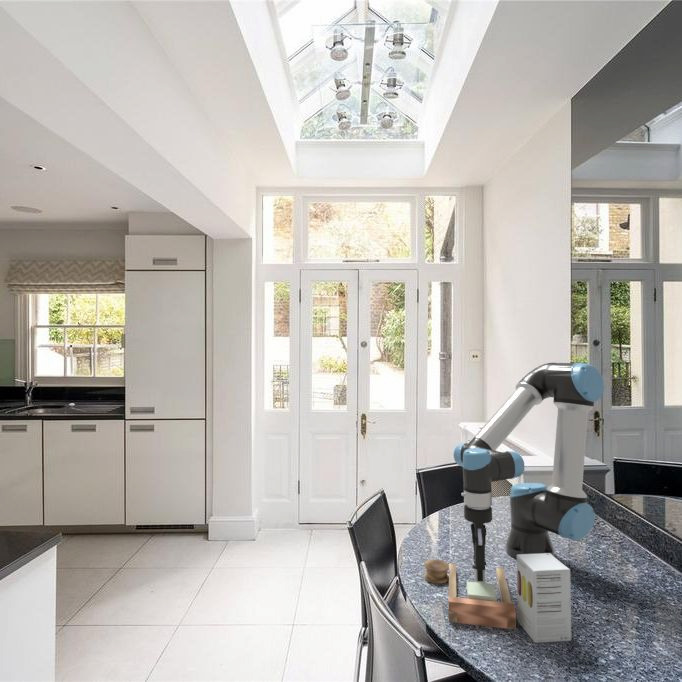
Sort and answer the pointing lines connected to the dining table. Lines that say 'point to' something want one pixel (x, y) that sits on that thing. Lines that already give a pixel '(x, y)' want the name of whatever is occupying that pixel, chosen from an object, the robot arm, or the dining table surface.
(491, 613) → the track
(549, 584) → the supplement box
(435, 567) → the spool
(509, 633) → the dining table surface
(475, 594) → the pale green block
